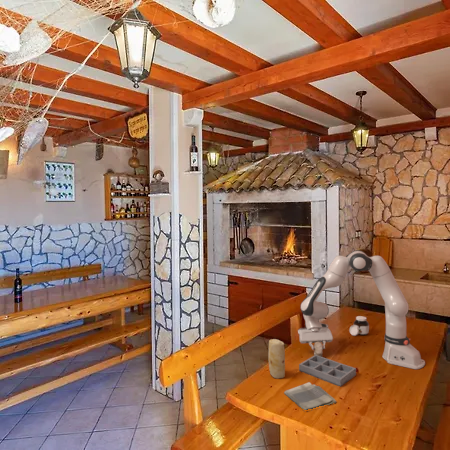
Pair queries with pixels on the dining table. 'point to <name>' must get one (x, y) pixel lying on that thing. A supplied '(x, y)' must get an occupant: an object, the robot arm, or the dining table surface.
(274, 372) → the food model
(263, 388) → the dining table surface
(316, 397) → the dish towel
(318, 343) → the egg
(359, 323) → the spread jar
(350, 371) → the gray compartment tray
